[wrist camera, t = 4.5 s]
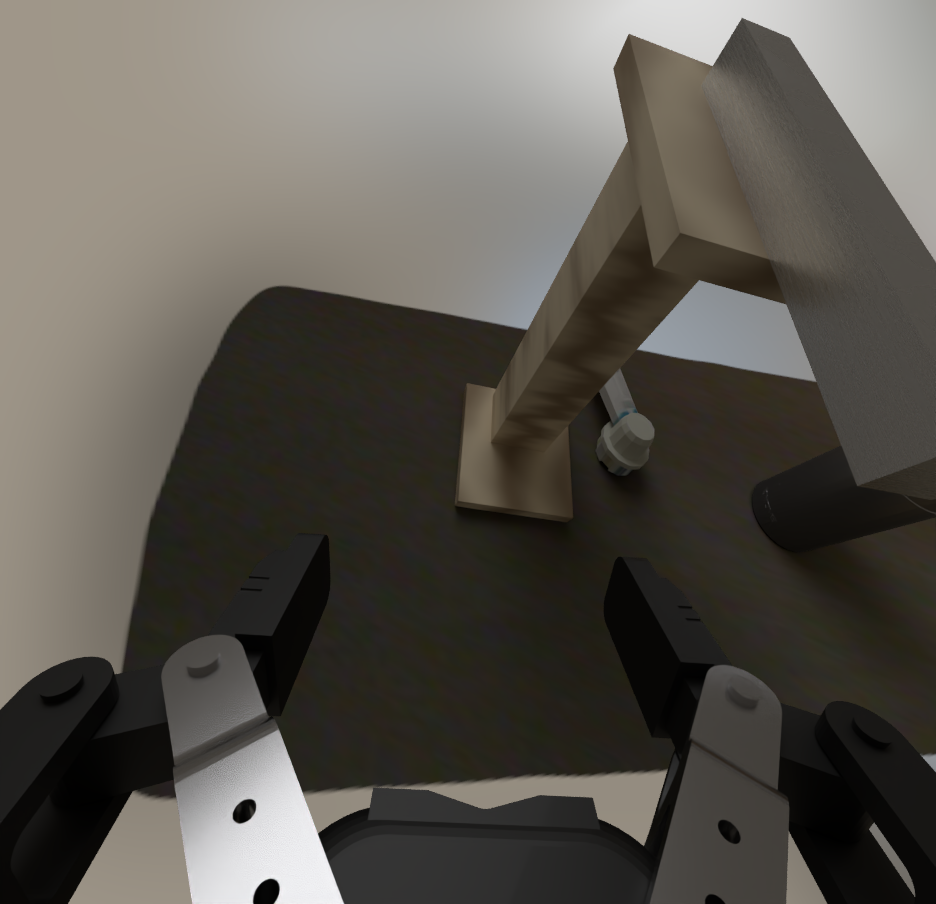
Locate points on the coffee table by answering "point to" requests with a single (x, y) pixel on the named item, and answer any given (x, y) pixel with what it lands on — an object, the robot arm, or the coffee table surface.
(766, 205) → the grey long bar
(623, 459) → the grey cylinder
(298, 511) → the coffee table surface
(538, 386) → the birch stand
